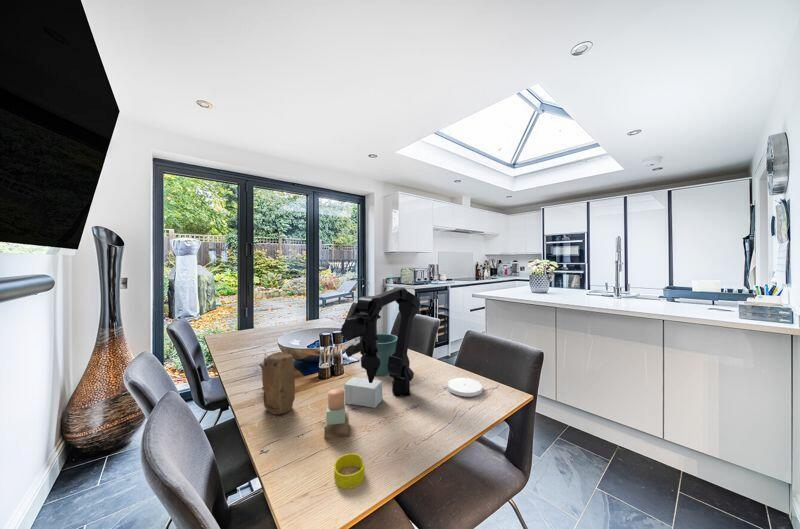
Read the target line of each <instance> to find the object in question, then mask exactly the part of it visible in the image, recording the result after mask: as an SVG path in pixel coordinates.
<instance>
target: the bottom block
mask: <svg viewBox="0 0 800 529" xmlns="http://www.w3.org/2000/svg"><path fill="white" fill-rule="evenodd" d="M349 421H350V420H349V412H348V411H347V412H345V423H341V424H332V425H327V414H326V416H325V421H324V427H323V428H324V429H323V430H324V433H323V434H324V440H327V439H338V438H347V437H349V426H350V425H349Z"/></svg>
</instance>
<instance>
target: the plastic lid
mask: <svg viewBox="0 0 800 529" xmlns="http://www.w3.org/2000/svg"><path fill="white" fill-rule="evenodd" d="M446 385H447V386H446V387H447V390H448V391H449V392H450V393H451V394H454V395H455V396H456V395H457V396H460V397H476V396H479V395H481V394H482V393H483V385H482V383H481V382H480V381H477V380H476V379H472V378H468V377H455V378H452V379H450V380H449V381H447V383H446Z"/></svg>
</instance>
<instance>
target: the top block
mask: <svg viewBox="0 0 800 529" xmlns="http://www.w3.org/2000/svg"><path fill="white" fill-rule="evenodd" d="M325 412H326V415H327V425H332V424H341V423H345V413H346V403H345V401H344V407H343V408H342V409H340V410H330V409H329V408H328V404H327V405H326V411H325Z"/></svg>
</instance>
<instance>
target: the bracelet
mask: <svg viewBox="0 0 800 529" xmlns="http://www.w3.org/2000/svg"><path fill="white" fill-rule="evenodd" d="M363 462H364V461H363V458H362V456H361V454H360V455H359V454H358V453H353V452H351V453H347V454H342V455H341V456H339V457H338V458H337V459H336V460H335V462H334V464H333V468H334V469H333V479H334V484H335V485H337V487H340V488H342V489H352V488H357V487H358V486H359V485H360V484H361V483H363V482H364V479H365V463H363ZM346 467H347V468H348V467H357V468H359V470H357V471H356V472H355V473H352V474H341V473H339V472H340V471H341V470H342V469H345V468H346Z"/></svg>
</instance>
